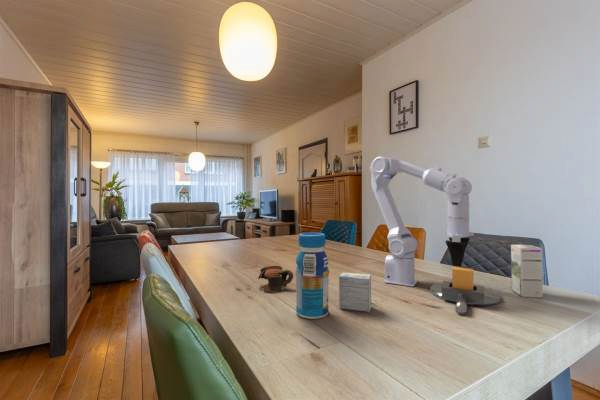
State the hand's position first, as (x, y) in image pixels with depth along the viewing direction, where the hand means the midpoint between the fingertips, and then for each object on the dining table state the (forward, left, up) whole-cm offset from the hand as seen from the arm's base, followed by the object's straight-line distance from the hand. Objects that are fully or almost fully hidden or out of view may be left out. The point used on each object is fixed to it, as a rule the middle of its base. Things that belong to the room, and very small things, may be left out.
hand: (457, 263), depth 86 cm
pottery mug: (-51, -23, -10) cm, 56 cm away
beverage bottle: (-31, -35, -10) cm, 47 cm away
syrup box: (+17, +10, -10) cm, 22 cm away
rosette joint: (+1, -4, -9) cm, 10 cm away
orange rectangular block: (+2, -6, -8) cm, 10 cm away
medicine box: (-23, -26, -10) cm, 35 cm away
